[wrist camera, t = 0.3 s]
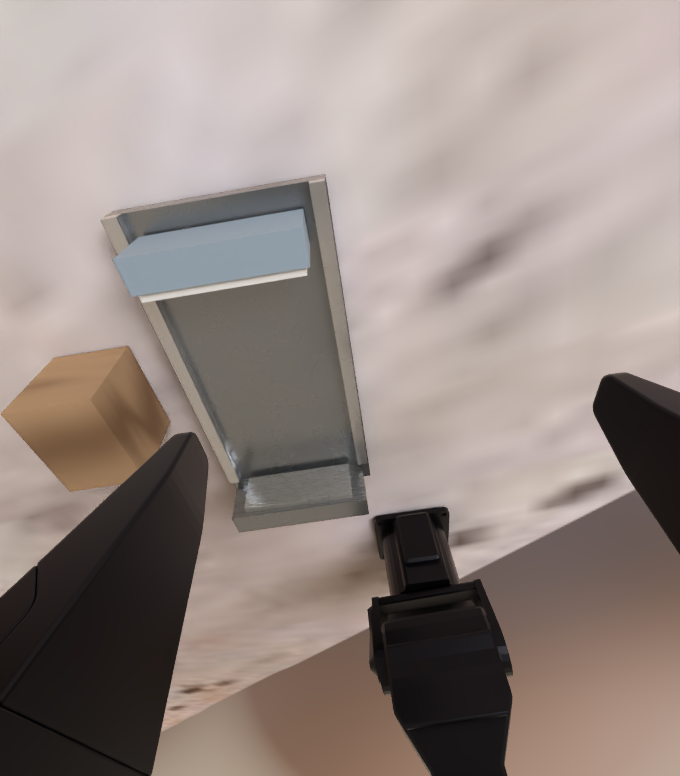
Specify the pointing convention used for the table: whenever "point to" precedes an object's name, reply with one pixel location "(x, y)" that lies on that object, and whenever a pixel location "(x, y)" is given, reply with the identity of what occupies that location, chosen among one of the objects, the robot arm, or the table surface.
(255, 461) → the base
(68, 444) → the block
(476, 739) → the robot arm
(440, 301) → the table surface
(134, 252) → the block
